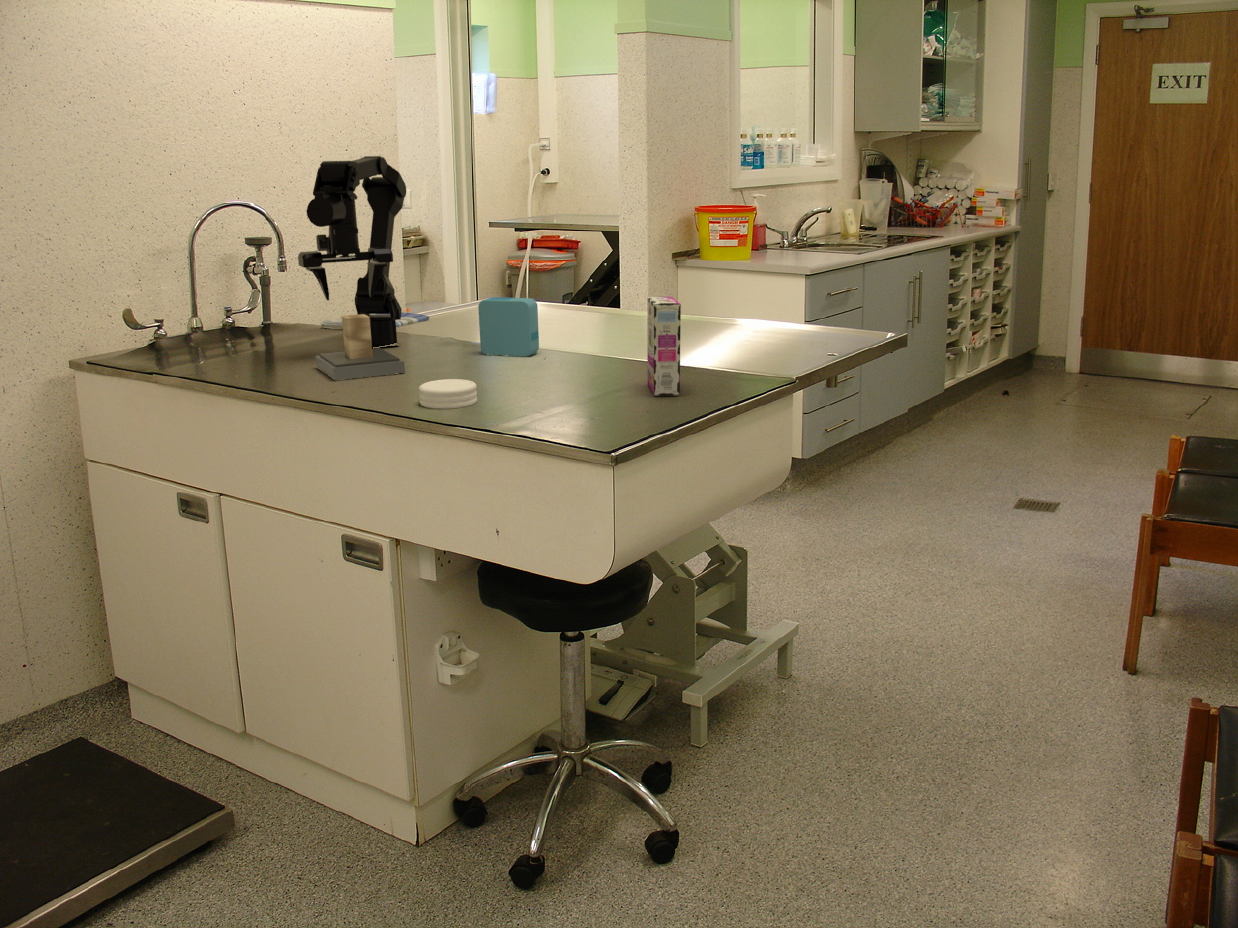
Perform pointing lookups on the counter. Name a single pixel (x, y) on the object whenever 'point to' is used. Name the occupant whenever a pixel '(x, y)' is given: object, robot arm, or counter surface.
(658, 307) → the candy bar box
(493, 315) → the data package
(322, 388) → the counter surface
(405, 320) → the dish towel
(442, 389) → the coaster
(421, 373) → the counter surface
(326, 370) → the plate
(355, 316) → the oak block
